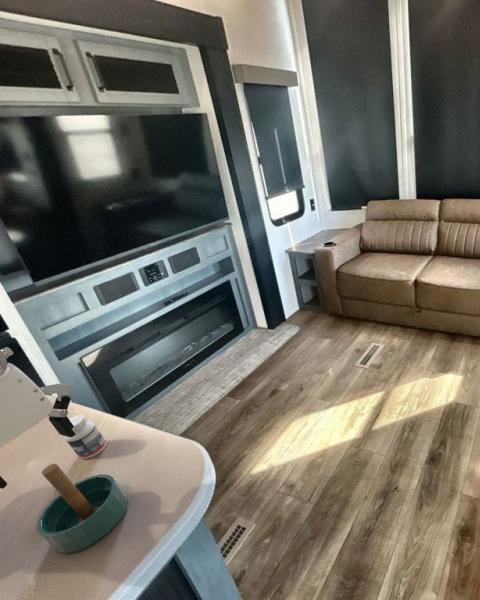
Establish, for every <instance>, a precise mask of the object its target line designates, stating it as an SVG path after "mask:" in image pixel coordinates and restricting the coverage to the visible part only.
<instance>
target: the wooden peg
mask: <svg viewBox="0 0 480 600" xmlns="http://www.w3.org/2000/svg"><path fill="white" fill-rule="evenodd" d="M41 475H43V477H44V478H45V479H46V480H47V481H48V482H49V484H50V485H51V486H52V487H53V488H54V489H55V491H56V492H57V493H58V495H59V494H60V495H61V496H62V497H63V498H64V499H65V500H66V502H67V503H68V504H69V505H70V506H71V507H72V508H73V510H74V511H75V512H76V513H77V514H78V515H79V516H80V519H79V521H78V524H79V523H81V522H82V521H84V520H85V519H87V518H88V517H89V516H91V515H92V514H93V513H94V512H95V511H96V510H97V509H98V508H100V507H92V506H91V505H90V503H89V502H88V501H87V500H86V499H85V497H84V496H83V495H82V494H81V493H80V491H79V490H78V489H77V488H76V487H75V485H74V484H75V483H73V482H72V480H71V479H70V477H68V476H67V474H65V472H64V471H63V469H61V467H60V466H59V465H58V464H57V463H52V464H49V465H48V466H46V467H45V468H44V469H43V470H42V471H41Z"/></svg>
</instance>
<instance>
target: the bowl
mask: <svg viewBox="0 0 480 600" xmlns="http://www.w3.org/2000/svg"><path fill="white" fill-rule="evenodd" d="M73 484H74V485H75V487H76V488H77V489H78V490H79V491H80V493H81V494H82V495H83V496H84V497H85V499H86V500H87V501H88V502H89V503H90V505H91V506H92V507H100V508H98V509H97V510H96V511H95V512H94V513H93V514H92V515H91V516H89V517H88V518H87V519H85V520H84V521H82V522H81V523H79V524H78V521H79V519H80V516H79V515H78V514H77V513H76V512H75V511H74V510H73V508H72V507H71V506H70V505H69V504H68V503H67V502H66V500H65V499H64V498H63V497H62V496H61V495H60V494H59V493H58V495H57V496H56V497H55V498H53V499H52V500H51V501H50V503H49V504H48V505H47V506H46V507H44V510H42V512H41V513H40V516H39V518H38V520H37V522H36V531H37V532H38V533H39V534H40V535H41V537H43V539H44V540H46V542H48V543H49V544H50V545H51V547H52V548H54V549H55V550H56V552H57V553H64V554H70V553H74V552H77V551H81V550H83V549H85V548H87V547H88V546H91V545H92V544H95V543H96V542H98V541H99V540H100V539H101V538H103V537H104V536H105V535H107V534H108V533H109V532H110V531H112V529H114V527H115V526H116V525H117V524H118V523H119V522H120V520H121V518H122V517H123V516H124V514H125V513H126V510H127V507H128V504H129V498H128V495H127V494H126V492H125V490H124V489H123V488H122V486H121V485H120V484H119V483H118V481H117V480H116V479H115V478H114V477H113V476H112V475H110V474H102V473H101V474H95V475H91V476H89V477H86V478H84V479H82V480H79V481H77V482H75V483H73Z"/></svg>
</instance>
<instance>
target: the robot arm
mask: <svg viewBox="0 0 480 600" xmlns="http://www.w3.org/2000/svg"><path fill="white" fill-rule="evenodd" d="M12 355H14V351H13V350H12V349H11V348H10V347H8V346H6V347H3V348H0V449H1V448H2V447H4V446H6V445H7V444H8V443H10V442H12V441H13V440H14V439H16V438H18V437H19V436H20V435H22V434H24V433H25V432H27V431H28V430H30V429H31V428H33V427H34V426H36V425H37V424H39V423H40V422H41V421H43V420H45V419H46V418H47V417H48V421H49V422H50V423H51V425H52V426H53V428H54V429H55V431H56V432H57V433H58V434H59V435H60V436H64V437H65V436H67V437H73V436H75V435H76V434H75V433H74V431H73V430H72V428H74V426H73V424H72V423H71V421H70V420H69V419H70V418H69V417H68V414H69V411H68V409H69V406H70V403H71V400H72V399H71V397H70V395H71V384H69V383H66V382H60V383H55V384H54V383H53V384H50V385H45V386H38V385H37V384H36V383H35V382H34V381H33V380H32V379H31V378H30V377H29V376H28V375H27V374H25V372H23V371H22V370H21V369H20V368H19V367H17V366H16V365H14V364H13V363H10V362H8V361H7V359H8V358H9V357H10V356H12ZM54 394H56V398H55V401H54V403H52V402H51V400H50V399H49V398H48V396H49V395H54ZM6 487H8V483H7V481H6V480H5V479H4V478H3V477H2V476H1V475H0V489H1V490H4V489H5V488H6Z"/></svg>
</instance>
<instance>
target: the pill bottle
mask: <svg viewBox="0 0 480 600" xmlns="http://www.w3.org/2000/svg"><path fill="white" fill-rule="evenodd" d="M68 419H69V420H70V421H71V423H72V424H73V426H74V428H72V430H73V431H74V433H75V434H76V435H75V436H73V437H67V436H64V440H65V441H66V443H67V444H68V445H69V446H70V448H71V449H72V450H73V452H74V453H75V454H76V456H77V457H78V458H79V459H81V460H86V459H87V460H88V459H91V458H93V457H95V456H97V455H99V454H100V453H101V452H102V451H103V450H104V449H105V448H106V446H107V439H105V437H104V435H102V433H101V432H100V430H99V429H98V428H97V425H96V424H95V423H94V422H93V421H91V420H90V421H89V420H88V419H87V418H86V417H85V415H83V414H78V415H74V416H72V417H70V418H68Z"/></svg>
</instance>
